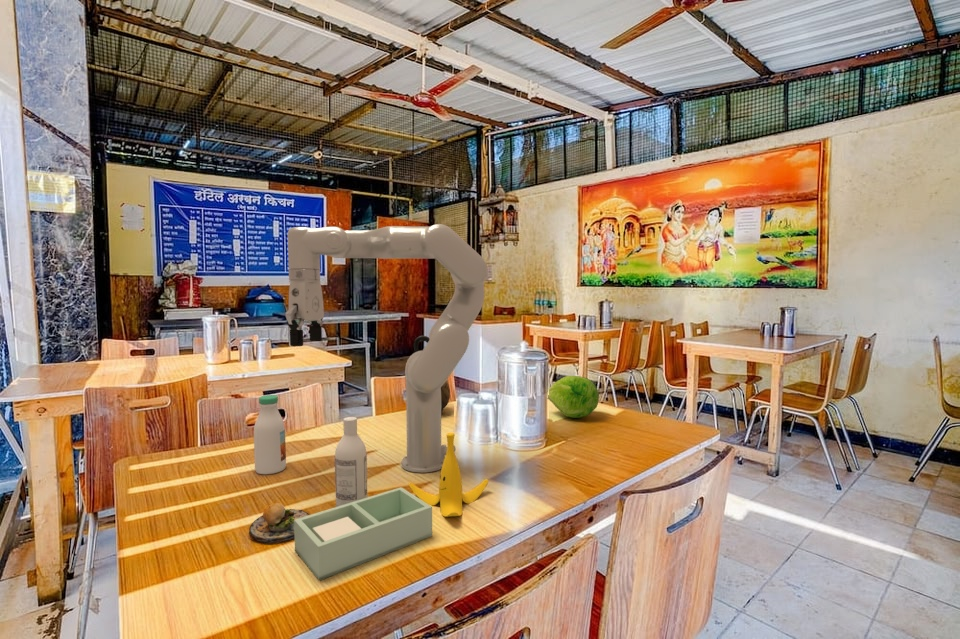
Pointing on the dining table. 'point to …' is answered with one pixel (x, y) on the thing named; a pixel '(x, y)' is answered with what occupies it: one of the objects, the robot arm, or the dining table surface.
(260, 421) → the milk bottle
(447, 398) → the ceramic jug
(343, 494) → the bath foam
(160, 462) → the dining table surface
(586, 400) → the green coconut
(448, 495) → the banana peel
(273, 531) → the burger
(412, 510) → the box
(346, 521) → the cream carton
